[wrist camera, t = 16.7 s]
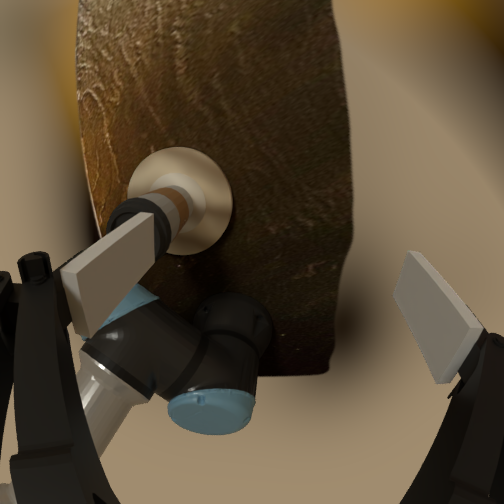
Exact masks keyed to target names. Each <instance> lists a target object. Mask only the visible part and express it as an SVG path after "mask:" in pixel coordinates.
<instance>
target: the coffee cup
mask: <svg viewBox="0 0 504 504" xmlns="http://www.w3.org/2000/svg"><path fill="white" fill-rule="evenodd" d="M192 211H193V201H192V198H191V196H190V194H189V193H188V192H187V191H186V190H185V189H184V188H182V187H180V186H176V185H171V186H166V187H164V188H159V189H156V190H153V191H151V192H148V193H145V194H143V195H141V196H139V197H135V198H129V199H127V200H125V201H124V202H122V203H121V204H120V205H118V206H117V207H116V208H115V210H114V211H113V212H112V214H111V216H110V219H109V221H108V223H107V228H106V232H107V234H109V233H110V232H112V231H113V230H115V229H116V228H118V227H119V226H120V225H122V224H123V223H125V222H126V221H128V220H129V219H131V218H132V217H134V216H135V215H137V214H138V213H140V212H144V213H153V214H154V255H155V261H157V260H158V259H159V258H161V257H162V256H163V255H165V253H166V252H167V250H168V249H169V246H170V243H172V242H173V240H174V239H175V238H176V236H177V235H178V233H179V232H180V231H181V229H182V228H183V226H184V225H185V224H186V222H187V221H188V219H189V217H190V216H191V214H192Z"/></svg>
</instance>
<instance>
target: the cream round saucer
mask: <svg viewBox="0 0 504 504" xmlns="http://www.w3.org/2000/svg"><path fill="white" fill-rule="evenodd" d="M171 185H176V186H180V187H182V188H184V189H185V190H186V191H187V192H188V193H189V194H190V196H191V198H192V201H193V211H192V214H191V216H190V217H189V219H188V221H187V222H186V224H185V225H184V226H183V228H182V229H181V231H180V232H179V233H178V235H177V236H176V238H175V239H174V240H173V242H172V243H170V246H169V249H168V250H167V253H170V254H175V255H190V254H195V253H198V252H201V251H203V250H205V249H207V248H209V247H210V246H212V245H213V244H214V243H215V242H216V241H217V240H218V239H219V238H220V237H221V236H222V234H223V232H224V231H225V229H226V227H227V225H228V223H229V221H230V218H231V214H232V208H233V198H232V191H231V187H230V184H229V181H228V179H227V177H226V175H225V173H224V172H223V170H222V169H221V168H220V166H219V165H218V164H217V163H216V162H215V161H214V160H213V159H211V158H210V157H209V156H207V155H206V154H204V153H202V152H200V151H198V150H195V149H191V148H186V147H172V148H167V149H163V150H160V151H157V152H155V153H153V154H151V155H150V156H148V157H147V158H146V159H144V160H143V161H142V162H141V163H140V165H139V166H138V167H137V168H136V170H135V172H134V173H133V176H132V178H131V180H130V184H129V188H128V199H129V198H135V197H139V196H141V195H143V194H145V193H148V192H151V191H153V190H156V189H159V188H164V187H166V186H171Z"/></svg>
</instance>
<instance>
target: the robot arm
mask: <svg viewBox="0 0 504 504" xmlns="http://www.w3.org/2000/svg"><path fill="white" fill-rule="evenodd" d="M154 263H155V255H154V214H153V213H144V212H140V213H138V214H137V215H135V216H134V217H132V218H131V219H129V220H128V221H126V222H125V223H123V224H122V225H120V226H119V227H118V228H116V229H115V230H113V231H112V232H110V233H109V234H107V235H106V236H105V237H103V238H102V239H100V240H99V241H98V242H96V243H95V244H93V245H92V246H91V247H89V248H87V249H85V250H82V251H80V252H79V253H77V254H76V255H74V256H73V258H70V259H69V260H68V261H67V262H65V263H64V264H63V265H61V266H60V267H58V268H57V269H56V270H55V271H53V272H52V268H51V263H50V257H49V254H48V253H46V252H41V251H38V252H32V253H29V254H26V255H24V256H22V257H21V258H20V259H19V260H18V262H17V264H18V268H19V272H20V276H21V280H22V284H19V283H18V284H17V283H12V279H11V276H10V273H9V272H6V271H0V458H1V448H2V439H3V432H4V426H5V420H6V414H7V409H8V404H9V399H10V394H11V390H12V386H13V382H14V409H15V422H16V433H17V441H18V454H16V455H12V456H11V458H10V461H9V462H10V473H11V479H12V482H11V483H10V484H6V483H3V484H0V504H120V502H119V501H118V499H117V497H116V496H115V494H114V492H113V491H112V489H111V487H110V485H109V482H108V480H107V478H106V475H105V473H104V470H103V468H102V465H101V462H100V460H99V459H100V457H101V455H102V454H103V452H104V451H105V449H106V447H107V446H108V444H109V442H110V441H111V439H112V438H113V436H114V434H115V433H116V431H117V430H118V428H119V427H120V425H121V423H122V422H123V420H124V419H125V417H126V416H127V414H128V412H129V411H130V409H131V408H132V406H134V405H138V404H143V403H148V402H149V400H150V399H151V397H152V396H153V394H154V393H156V394H157V395H159V396H161V397H162V398H164V399H165V400H167V401H168V402H169V404H168V414H169V416H170V417H171V419H172V420H173V421H174V422H175V423H176V424H177V425H179V426H180V427H182V428H184V429H187V430H189V431H192V432H196V433H200V434H206V435H225V434H231V433H234V432H237V431H239V430H241V429H242V428H244V427H245V426H246V425H247V424H248V423H249V421H250V419H251V415H252V411H253V407H254V405H255V395H256V386H257V377H258V368H259V359H260V358H261V356H262V355H263V353H264V352H265V350H266V349H267V347H268V345H269V343H270V341H271V337H272V320H271V317H270V315H269V313H268V311H267V310H266V309H265V308H264V306H263V305H261V304H260V303H259V302H258V301H256V300H255V299H253V298H251V297H249V296H246V295H243V294H240V293H233V292H225V293H219V294H215V295H212V296H210V297H208V298H207V299H205V300H204V301H203V302H202V303H201V304H200V306H199V307H198V309H197V311H196V314H195V316H194V319H193V325H191V324H190V323H189V322H187V321H186V320H185V319H184V318H182V317H181V316H180V315H178V314H177V313H176V312H175V311H173V310H172V309H171V308H170V307H168V306H167V305H166V304H165V303H164V302H162V301H161V300H160V298H159V297H158V296H155V295H153V294H152V293H150V292H149V291H148V290H146V289H145V288H144V287H143V286H141V285H139V284H136V283H137V282H138V281H139V280H140V279H141V277H142V276H143V275H144V274H145V273H146V272H147V271H148V269H149V268H150V267H151V266H152V265H153V264H154ZM393 297H394V299H395V301H396V303H397V305H398V307H399V309H400V311H401V312H402V314H403V316H404V318H405V320H406V322H407V324H408V326H409V328H410V330H411V332H412V334H413V336H414V338H415V340H416V341H417V344H418V346H419V348H420V350H421V352H422V354H423V356H424V358H425V360H426V363H427V365H428V367H429V369H430V371H431V374H432V376H433V378H434V380H435V382H436V384H444V383H450V382H451V381H452V380H453V378H454V377H455V375H456V374H457V372H458V373H459V375H460V377H461V379H460V381H459V382H458V384H457V385H456V386H455V388H454V389H453V390H452V392H451V393H450V394H449V396H448V397H447V398H448V399H449V398H450V397H451V396H452V399H451V402H450V404H449V407H448V410H447V412H446V415H445V417H444V420H443V422H442V425H441V427H440V429H439V432H438V434H437V436H436V438H435V440H434V443H433V445H432V447H431V449H430V451H429V453H428V455H427V457H426V459H425V461H424V463H423V464H422V466H421V468H420V470H419V472H418V474H417V475H416V477H415V479H414V481H413V483H412V485H411V486H410V488H409V489H408V491H407V492H406V494H405V496H404V497H403V499H402V500H401V502H400V504H504V337H502V336H501V335H499V334H496V333H488V332H487V331H486V329H485V328H484V327H483V325H482V324H481V323H480V321H479V320H478V319H477V318H476V316H475V315H474V314H473V313H472V311H471V310H470V309H469V307H468V306H467V305H466V304H465V303H464V302H463V301H462V300H461V298H460V297H459V296H458V295H457V294H456V292H455V291H454V290H453V289H452V288H451V287H450V285H449V284H448V283H447V282H446V281H445V279H444V278H443V277H442V276H441V275H440V274H439V273H438V272H437V270H436V269H435V268H434V267H433V266H432V265H431V264H430V263H429V262H428V261H427V260H426V258H425V257H424V256H423V255H422V254H421V253H420V252H415V251H410V250H408V252H407V255H406V258H405V261H404V264H403V267H402V270H401V273H400V276H399V279H398V282H397V285H396V288H395V290H394V293H393ZM71 322H72V323H73V326H74V330H75V333H76V334H79V335H80V336H81V337H82V340H83V341H86V342H85V343H84V345H83V346H82V348H81V349H80V350H79V356H80V362H81V369H80V370H79V372H78V373H77V375H76V374H75V369H74V363H73V358H72V352H71V346H70V340H69V333H68V330H67V326H68V325H69V324H70V323H71Z"/></svg>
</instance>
